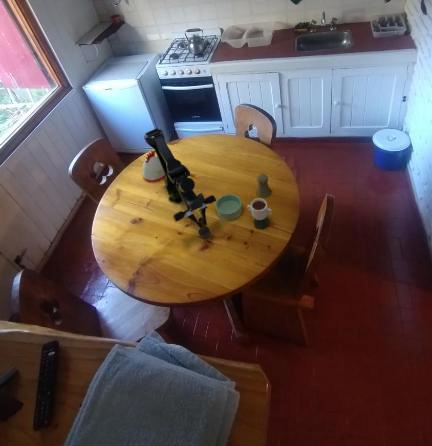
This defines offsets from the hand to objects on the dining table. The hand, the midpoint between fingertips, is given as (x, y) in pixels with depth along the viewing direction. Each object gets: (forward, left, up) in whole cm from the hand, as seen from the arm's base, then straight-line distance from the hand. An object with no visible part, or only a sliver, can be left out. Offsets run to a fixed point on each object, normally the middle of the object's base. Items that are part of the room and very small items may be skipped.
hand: (203, 226), depth 143 cm
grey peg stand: (-1, +1, -7) cm, 7 cm away
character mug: (+17, +19, -13) cm, 28 cm away
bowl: (0, +21, -12) cm, 24 cm away
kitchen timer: (-51, +30, -13) cm, 60 cm away
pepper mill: (+11, +37, -13) cm, 40 cm away
